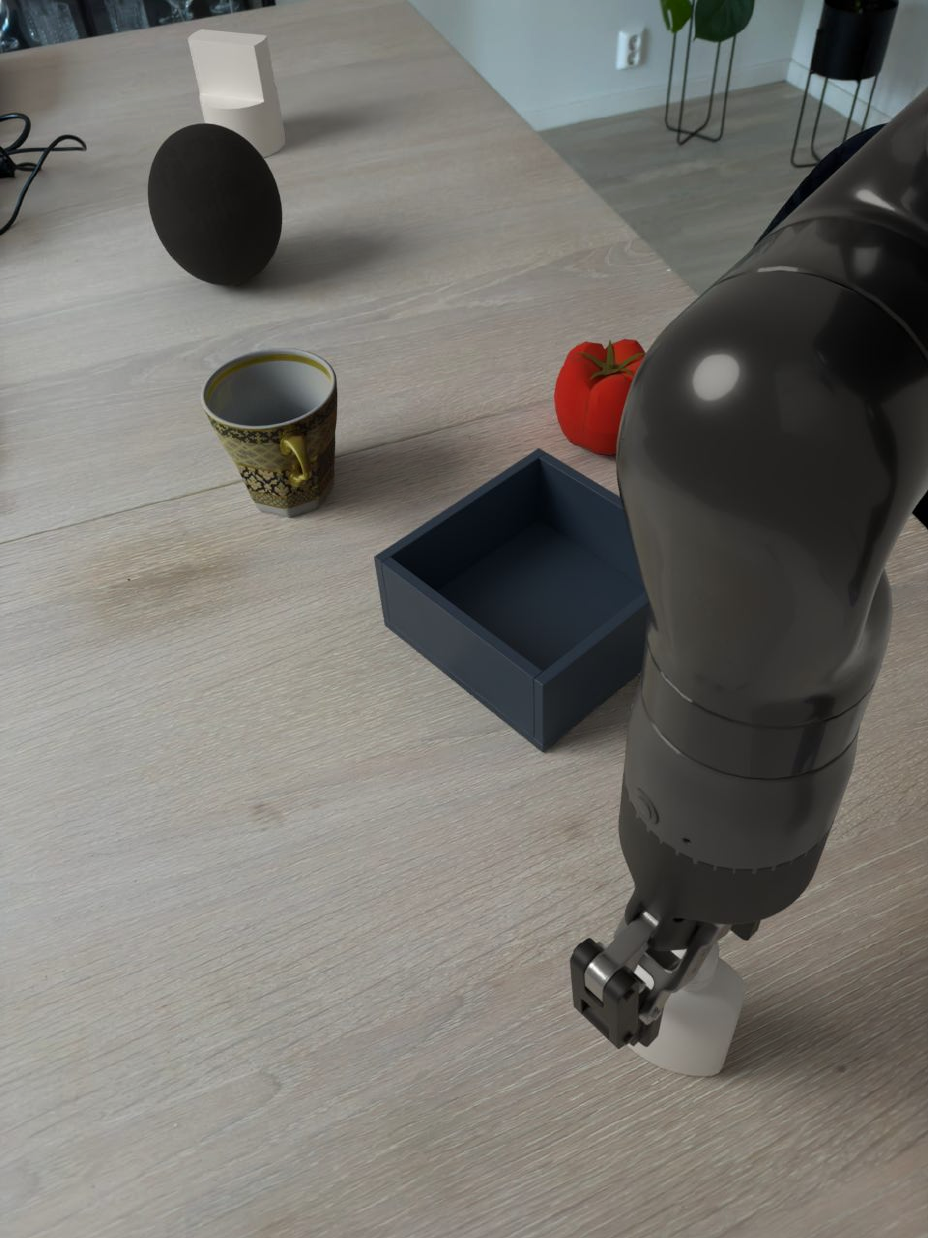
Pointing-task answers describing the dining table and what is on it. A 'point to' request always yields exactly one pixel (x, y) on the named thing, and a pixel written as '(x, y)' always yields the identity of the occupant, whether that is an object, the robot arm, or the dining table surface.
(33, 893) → the dining table surface
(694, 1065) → the eye dropper bottle
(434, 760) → the dining table surface
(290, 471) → the ceramic cup
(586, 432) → the tomato
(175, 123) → the dining table surface
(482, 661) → the bin
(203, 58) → the base with upright slab
